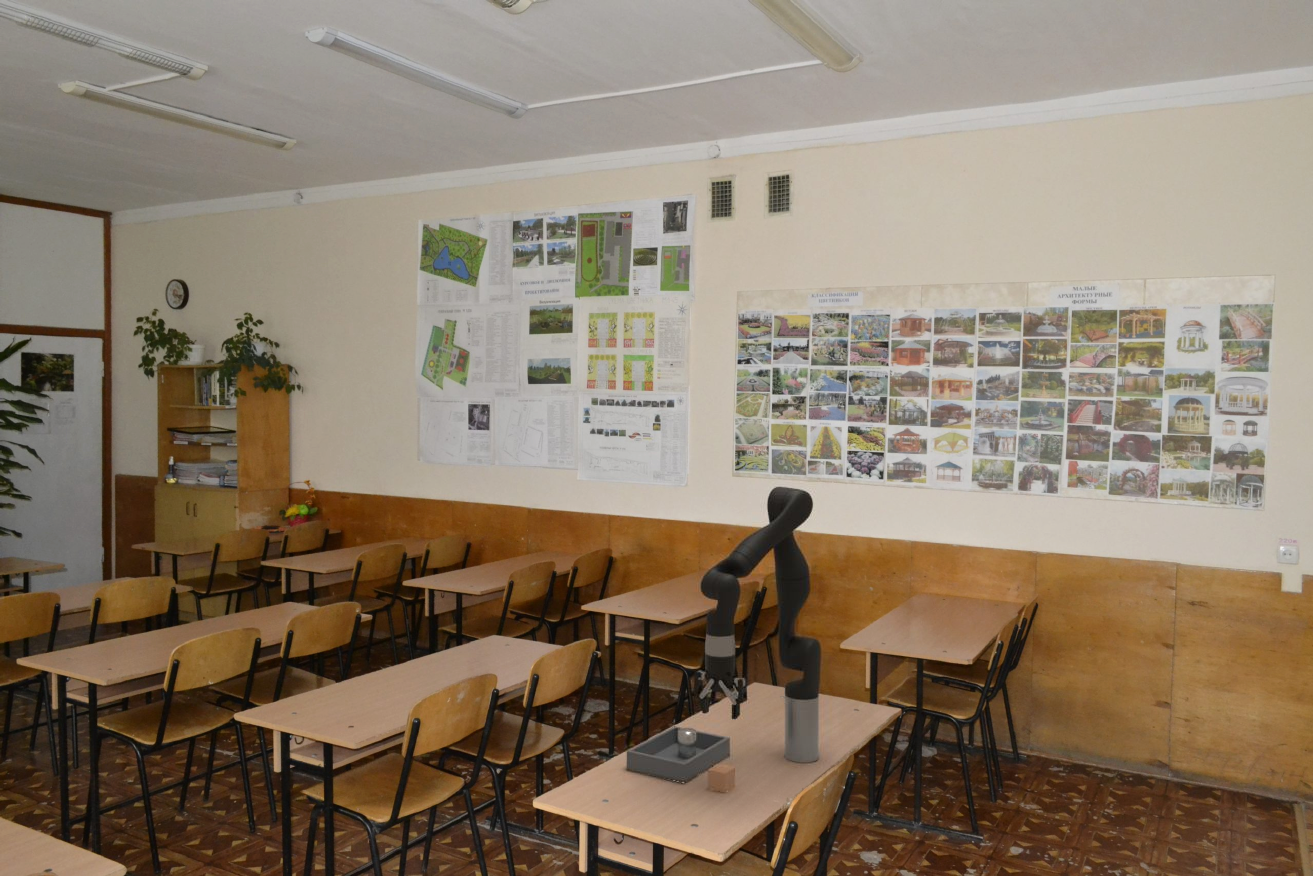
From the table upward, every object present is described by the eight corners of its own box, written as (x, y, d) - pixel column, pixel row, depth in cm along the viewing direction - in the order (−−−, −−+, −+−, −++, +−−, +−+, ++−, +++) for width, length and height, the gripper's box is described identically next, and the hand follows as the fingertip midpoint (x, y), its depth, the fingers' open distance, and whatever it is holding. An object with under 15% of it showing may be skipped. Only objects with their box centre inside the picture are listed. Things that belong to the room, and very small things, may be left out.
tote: (674, 743, 271) (674, 726, 271) (729, 755, 261) (729, 737, 261) (626, 769, 251) (626, 751, 251) (684, 784, 241) (684, 764, 241)
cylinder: (684, 751, 263) (684, 726, 263) (699, 755, 260) (699, 729, 260) (674, 757, 259) (674, 731, 258) (690, 760, 256) (690, 735, 256)
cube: (717, 783, 242) (717, 763, 242) (734, 787, 239) (734, 767, 239) (707, 789, 238) (707, 769, 238) (725, 793, 235) (725, 773, 235)
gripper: (752, 652, 237) (752, 716, 238) (703, 645, 245) (703, 707, 246) (737, 658, 231) (737, 724, 232) (688, 650, 239) (688, 714, 239)
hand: (720, 715), depth 239 cm, fingers open, 8 cm apart
